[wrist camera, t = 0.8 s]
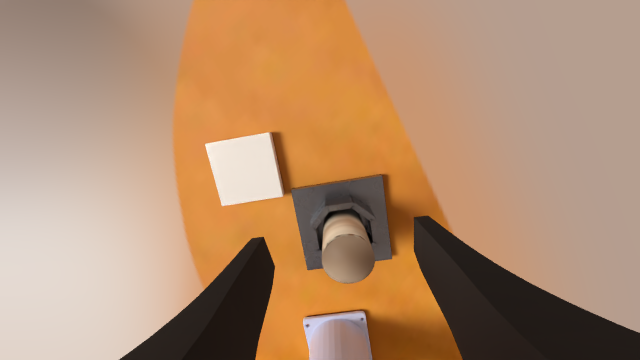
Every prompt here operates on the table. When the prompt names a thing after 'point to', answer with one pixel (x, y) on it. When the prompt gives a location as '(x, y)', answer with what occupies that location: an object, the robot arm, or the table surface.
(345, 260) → the tan cylinder
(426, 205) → the table surface
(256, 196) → the tile pad
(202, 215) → the table surface
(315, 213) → the housing
